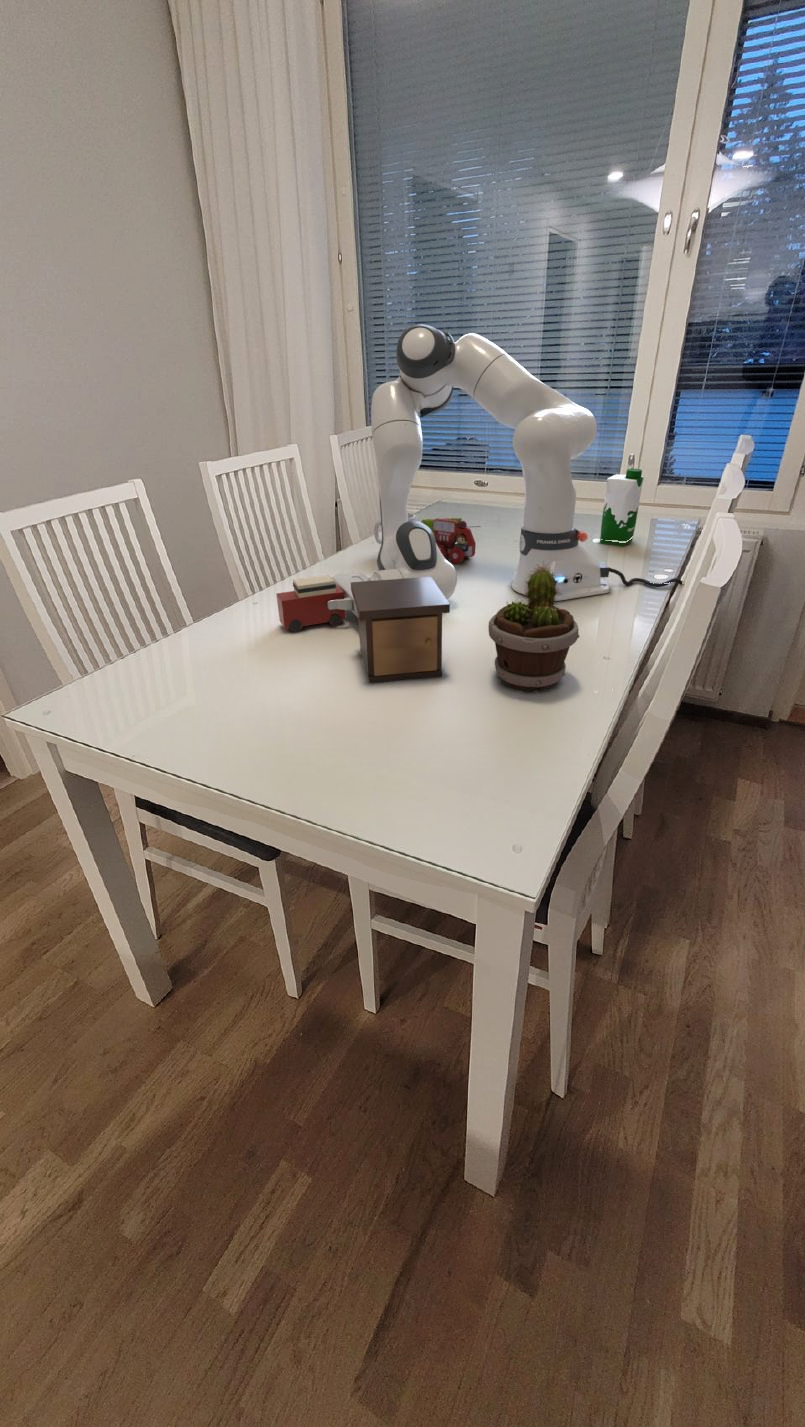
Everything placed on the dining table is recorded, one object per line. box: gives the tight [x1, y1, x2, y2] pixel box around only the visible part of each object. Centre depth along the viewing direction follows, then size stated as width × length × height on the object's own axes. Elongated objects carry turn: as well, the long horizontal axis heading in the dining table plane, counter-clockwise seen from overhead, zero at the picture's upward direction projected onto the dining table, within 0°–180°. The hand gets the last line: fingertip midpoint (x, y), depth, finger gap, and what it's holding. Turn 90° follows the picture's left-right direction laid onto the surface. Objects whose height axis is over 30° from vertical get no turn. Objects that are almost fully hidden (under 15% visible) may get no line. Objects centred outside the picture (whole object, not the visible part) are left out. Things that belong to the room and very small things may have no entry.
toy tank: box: [420, 517, 482, 534], centre depth 192 cm, size 7×19×10 cm
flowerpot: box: [488, 561, 580, 692], centre depth 107 cm, size 14×15×20 cm
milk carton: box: [599, 468, 645, 547], centre depth 181 cm, size 9×9×20 cm
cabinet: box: [351, 577, 451, 684], centre depth 114 cm, size 15×16×14 cm
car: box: [275, 574, 346, 633], centre depth 133 cm, size 13×5×10 cm, turn 112°
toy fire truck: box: [433, 517, 477, 564], centre depth 172 cm, size 7×12×10 cm, turn 58°
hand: (323, 600), depth 133 cm, fingers closed on car, 5 cm apart
